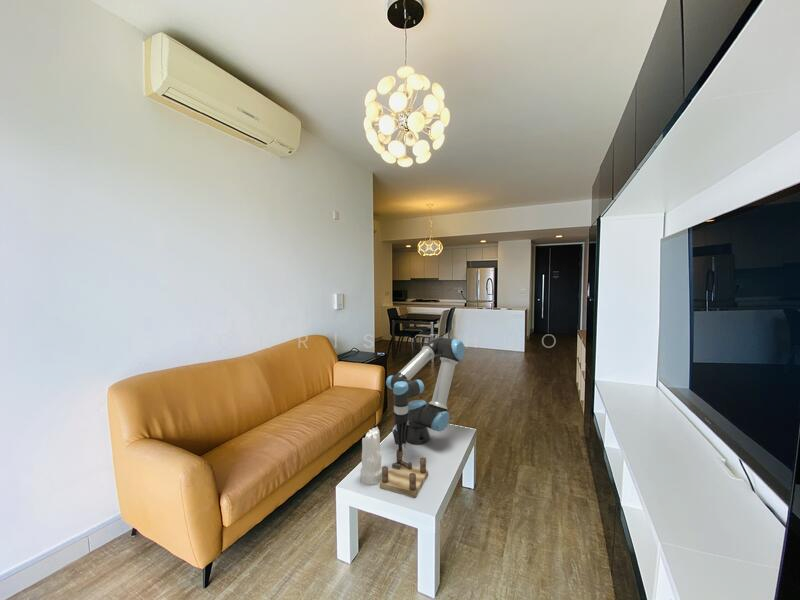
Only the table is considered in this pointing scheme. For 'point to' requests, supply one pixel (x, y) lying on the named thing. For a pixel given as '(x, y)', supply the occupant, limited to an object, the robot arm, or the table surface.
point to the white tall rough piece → (371, 458)
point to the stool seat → (404, 478)
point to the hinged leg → (399, 461)
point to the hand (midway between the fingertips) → (401, 455)
